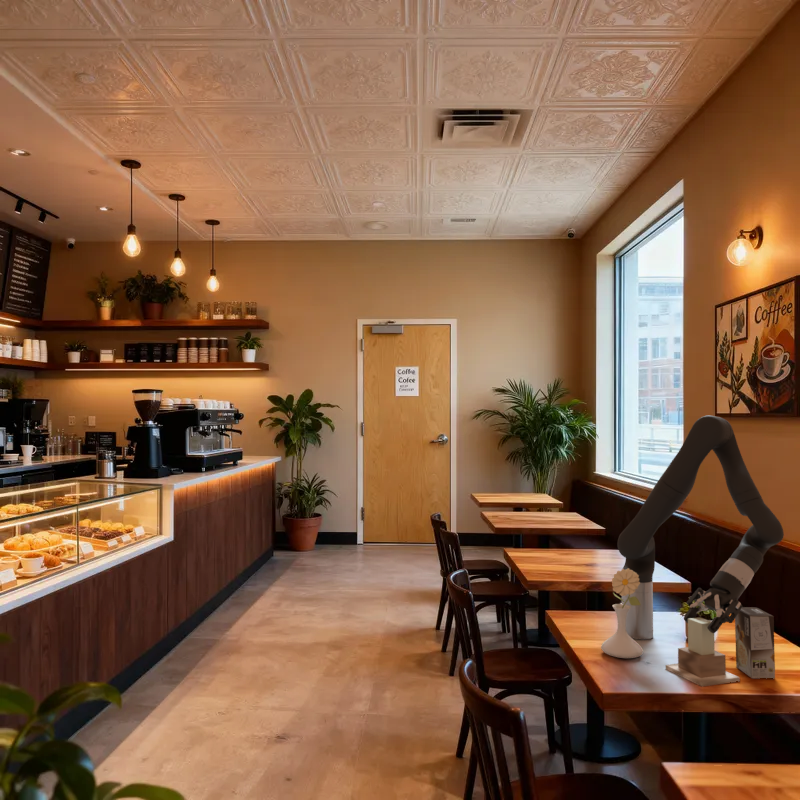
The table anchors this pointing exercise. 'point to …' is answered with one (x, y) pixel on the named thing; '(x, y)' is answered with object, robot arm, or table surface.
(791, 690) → the table surface
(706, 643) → the sage brick
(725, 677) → the tower base
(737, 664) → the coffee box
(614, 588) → the flower in vase
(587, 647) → the table surface
